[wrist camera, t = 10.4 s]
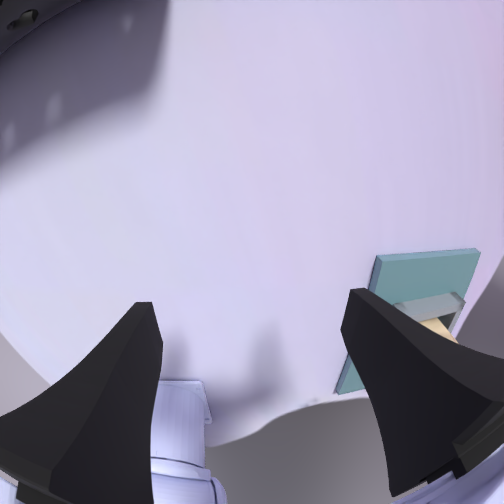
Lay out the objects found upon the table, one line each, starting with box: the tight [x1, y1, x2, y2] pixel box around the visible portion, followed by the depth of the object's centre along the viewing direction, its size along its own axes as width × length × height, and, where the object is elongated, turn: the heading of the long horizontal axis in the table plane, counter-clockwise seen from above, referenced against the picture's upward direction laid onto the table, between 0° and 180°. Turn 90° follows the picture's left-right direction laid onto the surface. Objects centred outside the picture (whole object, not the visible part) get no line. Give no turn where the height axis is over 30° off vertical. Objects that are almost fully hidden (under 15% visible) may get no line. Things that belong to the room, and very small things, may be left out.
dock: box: [336, 248, 481, 395], centre depth 24 cm, size 18×14×3 cm
